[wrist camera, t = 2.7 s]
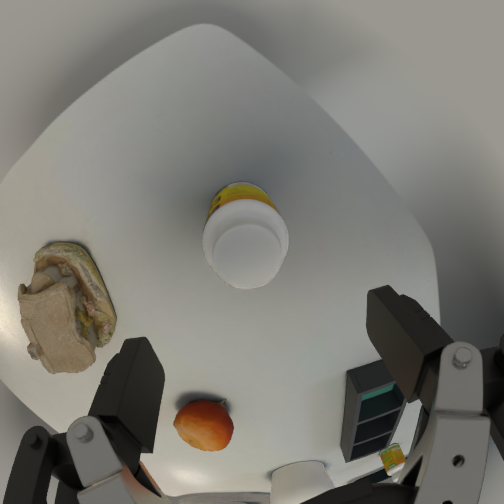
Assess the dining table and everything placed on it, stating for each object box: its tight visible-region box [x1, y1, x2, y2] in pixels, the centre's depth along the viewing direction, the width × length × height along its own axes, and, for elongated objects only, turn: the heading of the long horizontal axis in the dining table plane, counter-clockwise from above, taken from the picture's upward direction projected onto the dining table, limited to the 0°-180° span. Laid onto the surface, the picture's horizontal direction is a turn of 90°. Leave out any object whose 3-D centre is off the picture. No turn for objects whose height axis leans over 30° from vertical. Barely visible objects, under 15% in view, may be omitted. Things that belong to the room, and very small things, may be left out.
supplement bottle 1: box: [202, 182, 289, 289], centre depth 20 cm, size 6×6×10 cm
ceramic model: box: [18, 242, 116, 374], centre depth 22 cm, size 14×11×10 cm
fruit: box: [174, 398, 234, 451], centre depth 33 cm, size 8×8×8 cm
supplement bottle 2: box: [380, 444, 406, 482], centre depth 45 cm, size 5×5×10 cm
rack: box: [340, 360, 407, 463], centre depth 37 cm, size 9×26×4 cm, turn 11°
